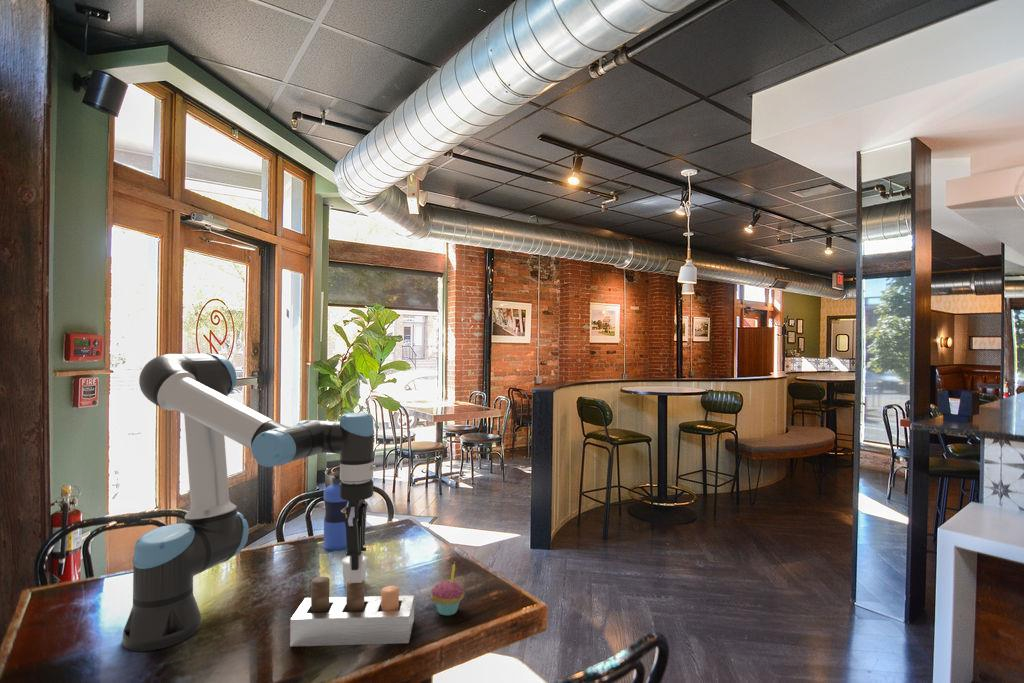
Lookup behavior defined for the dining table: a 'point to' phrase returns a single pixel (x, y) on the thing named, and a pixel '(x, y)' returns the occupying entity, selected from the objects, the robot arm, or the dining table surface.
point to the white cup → (347, 568)
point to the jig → (352, 623)
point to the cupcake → (448, 595)
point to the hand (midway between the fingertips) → (356, 581)
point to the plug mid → (355, 597)
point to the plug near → (320, 595)
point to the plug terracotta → (390, 598)
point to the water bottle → (334, 516)
